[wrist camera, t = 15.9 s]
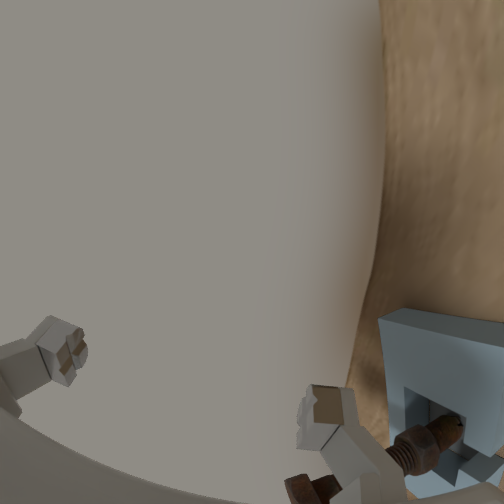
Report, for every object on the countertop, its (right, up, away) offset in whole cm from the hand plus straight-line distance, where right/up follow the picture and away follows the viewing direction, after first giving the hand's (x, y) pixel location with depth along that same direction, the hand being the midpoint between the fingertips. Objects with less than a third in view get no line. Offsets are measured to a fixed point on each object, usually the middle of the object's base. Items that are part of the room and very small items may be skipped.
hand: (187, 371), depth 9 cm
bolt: (+20, -11, +9) cm, 24 cm away
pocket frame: (+20, -10, +9) cm, 24 cm away
